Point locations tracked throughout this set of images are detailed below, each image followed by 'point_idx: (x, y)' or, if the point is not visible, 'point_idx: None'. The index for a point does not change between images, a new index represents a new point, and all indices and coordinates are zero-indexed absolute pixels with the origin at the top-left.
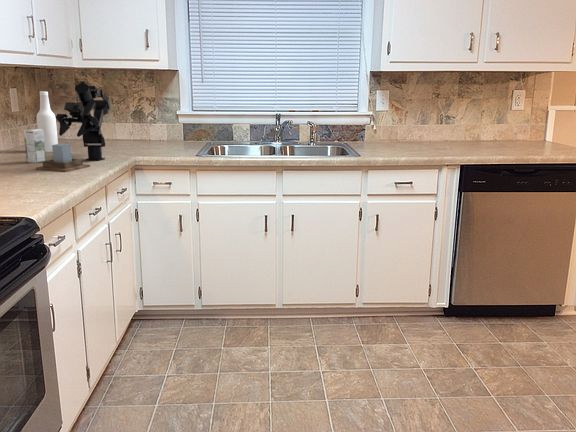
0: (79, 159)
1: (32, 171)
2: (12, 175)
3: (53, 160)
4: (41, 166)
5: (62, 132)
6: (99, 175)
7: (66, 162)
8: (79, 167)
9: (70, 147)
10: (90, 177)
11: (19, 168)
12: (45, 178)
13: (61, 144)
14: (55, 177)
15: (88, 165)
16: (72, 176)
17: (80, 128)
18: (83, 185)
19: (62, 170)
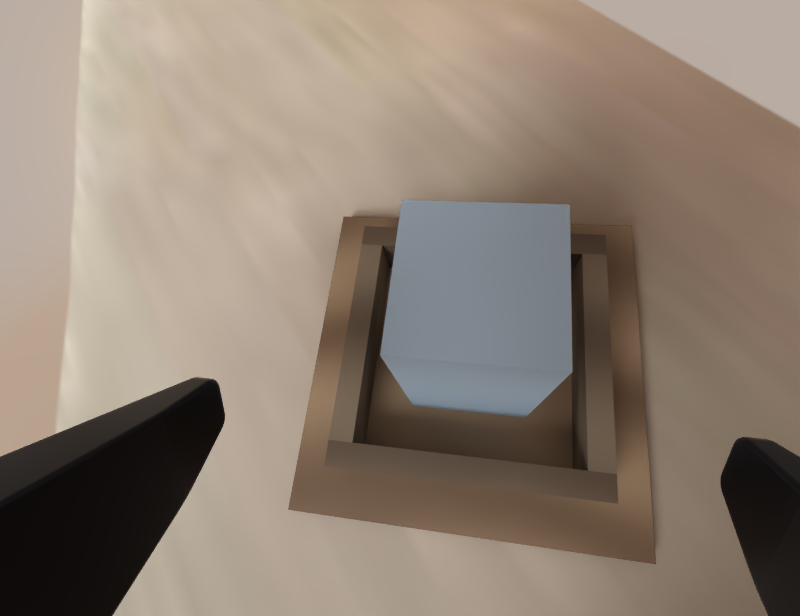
0: (354, 458)
1: (574, 165)
2: (572, 36)
3: (583, 345)
4: (625, 276)
5: (786, 568)
6: (95, 207)
7: (366, 258)
8: (317, 365)
9: (388, 364)
10: (125, 145)
11: (784, 222)
12: (338, 47)
13: (502, 308)
14: (304, 82)
15: (294, 487)
16: (231, 132)
17: (4, 484)
18: (96, 10)
19: (369, 219)
